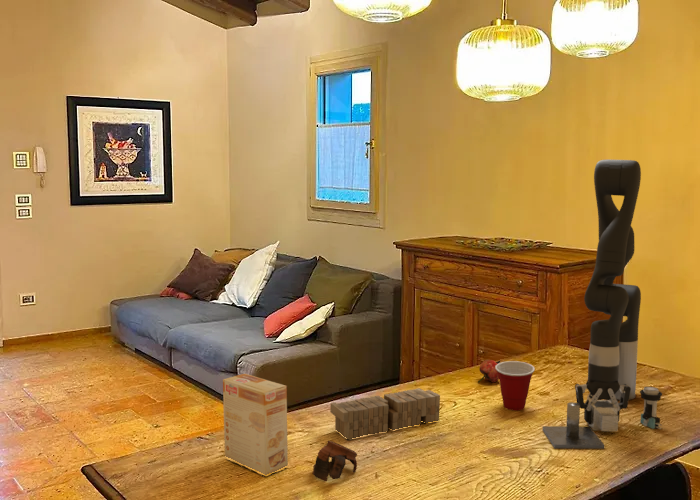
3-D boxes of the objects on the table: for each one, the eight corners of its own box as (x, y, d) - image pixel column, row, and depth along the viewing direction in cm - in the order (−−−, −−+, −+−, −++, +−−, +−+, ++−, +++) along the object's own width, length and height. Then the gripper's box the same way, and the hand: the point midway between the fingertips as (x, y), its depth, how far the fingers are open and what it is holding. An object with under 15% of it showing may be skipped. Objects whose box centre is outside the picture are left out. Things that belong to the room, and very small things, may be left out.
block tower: (423, 416, 199) (328, 432, 186) (424, 387, 198) (329, 400, 185) (439, 425, 192) (342, 442, 179) (440, 395, 192) (343, 409, 178)
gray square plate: (542, 430, 186) (543, 396, 185) (589, 430, 186) (590, 396, 185) (554, 448, 174) (555, 412, 173) (604, 448, 174) (605, 412, 173)
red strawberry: (488, 393, 223) (512, 372, 224) (473, 375, 222) (498, 354, 223) (480, 388, 230) (504, 368, 231) (466, 370, 229) (490, 350, 230)
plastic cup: (490, 411, 200) (491, 369, 199) (498, 399, 210) (499, 359, 209) (530, 416, 196) (531, 373, 195) (536, 403, 206) (537, 363, 205)
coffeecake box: (289, 468, 164) (287, 385, 161) (265, 478, 159) (263, 392, 156) (247, 450, 174) (245, 372, 171) (223, 459, 169) (221, 378, 166)
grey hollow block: (586, 421, 192) (587, 400, 191) (608, 422, 192) (609, 400, 191) (597, 435, 182) (598, 412, 181) (621, 435, 182) (622, 412, 181)
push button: (668, 429, 186) (670, 392, 185) (652, 432, 184) (654, 394, 183) (650, 420, 192) (651, 384, 191) (634, 423, 190) (635, 386, 189)
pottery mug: (306, 470, 164) (320, 436, 166) (343, 486, 165) (357, 451, 167) (315, 479, 152) (330, 442, 154) (355, 496, 154) (370, 459, 155)
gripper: (626, 357, 190) (623, 418, 192) (571, 357, 190) (569, 418, 192) (637, 365, 183) (634, 429, 185) (580, 365, 183) (577, 428, 185)
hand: (601, 423), depth 189 cm, fingers closed on grey hollow block, 6 cm apart
